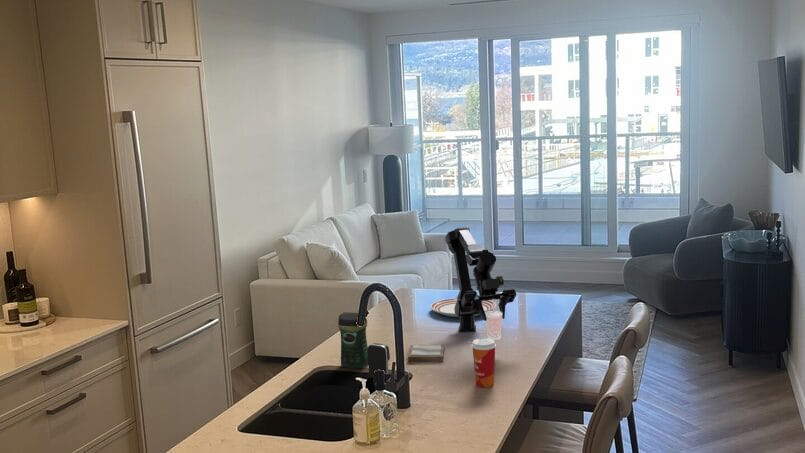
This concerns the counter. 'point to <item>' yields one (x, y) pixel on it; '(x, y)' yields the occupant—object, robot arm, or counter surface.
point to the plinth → (426, 353)
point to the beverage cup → (494, 324)
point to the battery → (377, 357)
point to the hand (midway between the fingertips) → (494, 319)
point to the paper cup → (484, 362)
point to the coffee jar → (352, 341)
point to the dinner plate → (449, 304)
